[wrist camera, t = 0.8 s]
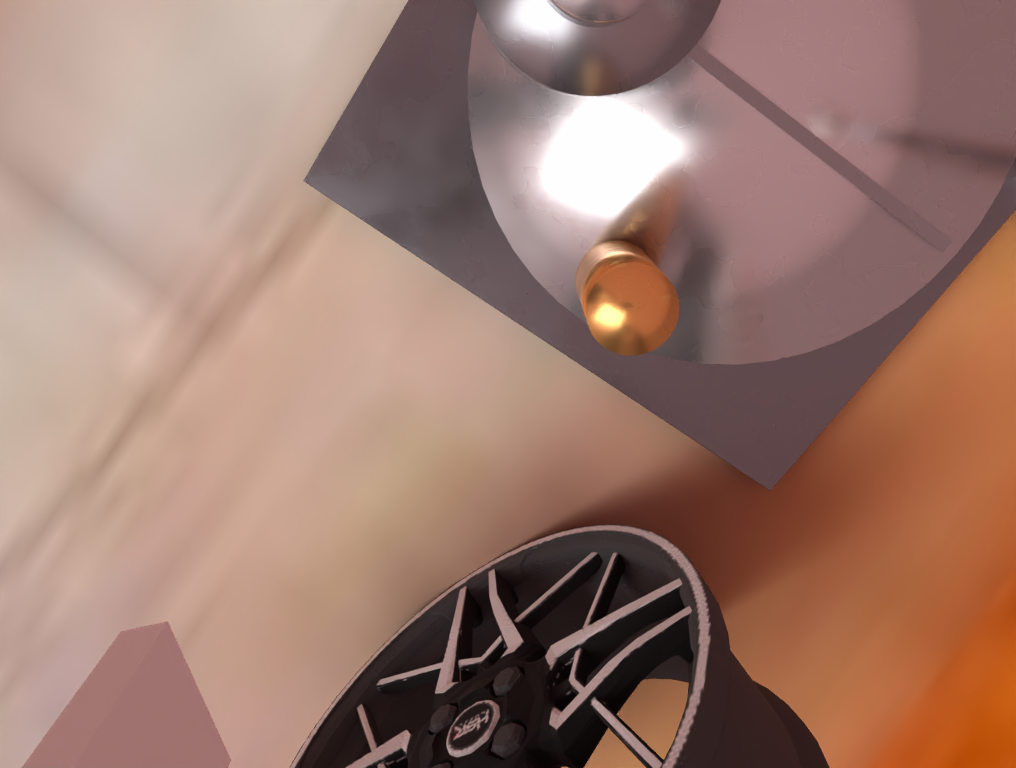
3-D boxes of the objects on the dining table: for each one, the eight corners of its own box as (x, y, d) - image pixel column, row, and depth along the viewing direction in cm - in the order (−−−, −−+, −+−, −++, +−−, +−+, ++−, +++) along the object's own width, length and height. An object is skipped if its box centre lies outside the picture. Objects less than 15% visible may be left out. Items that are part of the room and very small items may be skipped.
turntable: (371, 167, 31) (333, 184, 25) (692, -363, 26) (752, -523, 19) (767, 436, 35) (826, 513, 28) (1123, 19, 30) (1299, -7, 23)
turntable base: (309, 178, 33) (301, 181, 32) (673, -446, 26) (681, -473, 25) (763, 480, 37) (772, 493, 36) (1174, 7, 31) (1201, 3, 29)
